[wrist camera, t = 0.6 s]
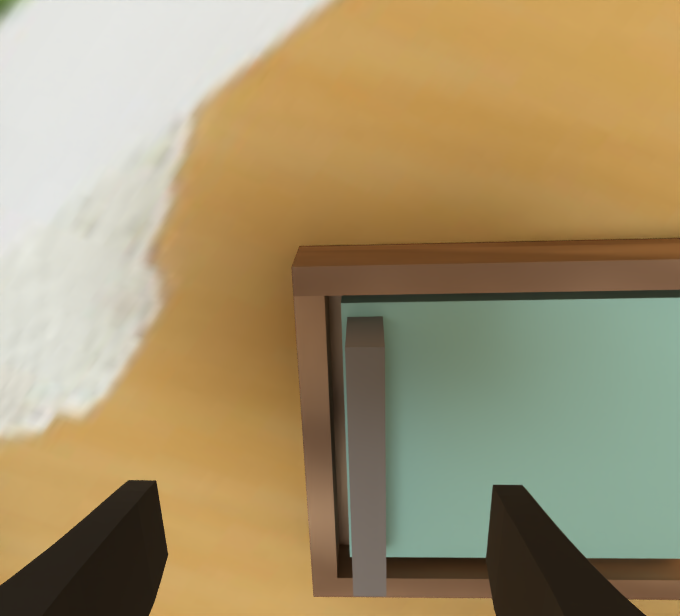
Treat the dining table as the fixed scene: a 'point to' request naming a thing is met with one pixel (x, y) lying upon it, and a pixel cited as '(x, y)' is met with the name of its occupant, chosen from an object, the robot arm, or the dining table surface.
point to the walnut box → (441, 278)
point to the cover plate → (510, 421)
